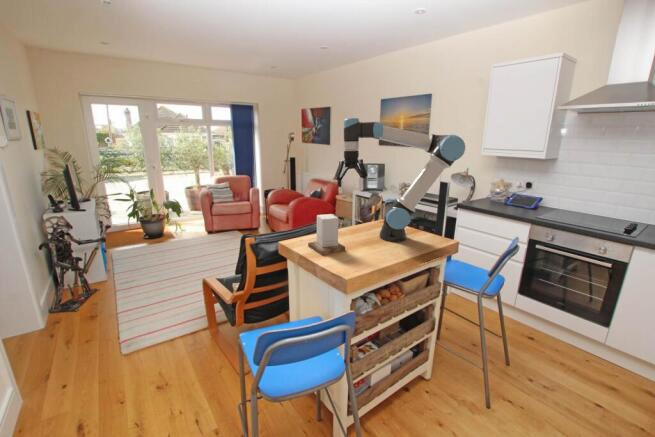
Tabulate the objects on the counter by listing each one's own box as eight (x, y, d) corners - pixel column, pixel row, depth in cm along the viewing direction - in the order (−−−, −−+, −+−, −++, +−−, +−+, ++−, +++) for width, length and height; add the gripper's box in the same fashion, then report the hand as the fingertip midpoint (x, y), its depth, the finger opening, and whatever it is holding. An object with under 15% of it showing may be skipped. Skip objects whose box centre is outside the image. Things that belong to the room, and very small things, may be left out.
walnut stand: (330, 242, 170) (330, 238, 170) (345, 250, 159) (345, 245, 158) (308, 246, 163) (308, 242, 163) (321, 255, 152) (321, 250, 151)
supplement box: (338, 246, 158) (339, 217, 154) (321, 247, 155) (322, 219, 151) (331, 240, 166) (332, 213, 162) (316, 242, 163) (316, 214, 159)
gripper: (365, 148, 166) (364, 187, 172) (326, 151, 153) (327, 193, 158) (374, 149, 160) (373, 189, 166) (335, 151, 147) (336, 195, 152)
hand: (351, 191), depth 162 cm, fingers open, 13 cm apart
